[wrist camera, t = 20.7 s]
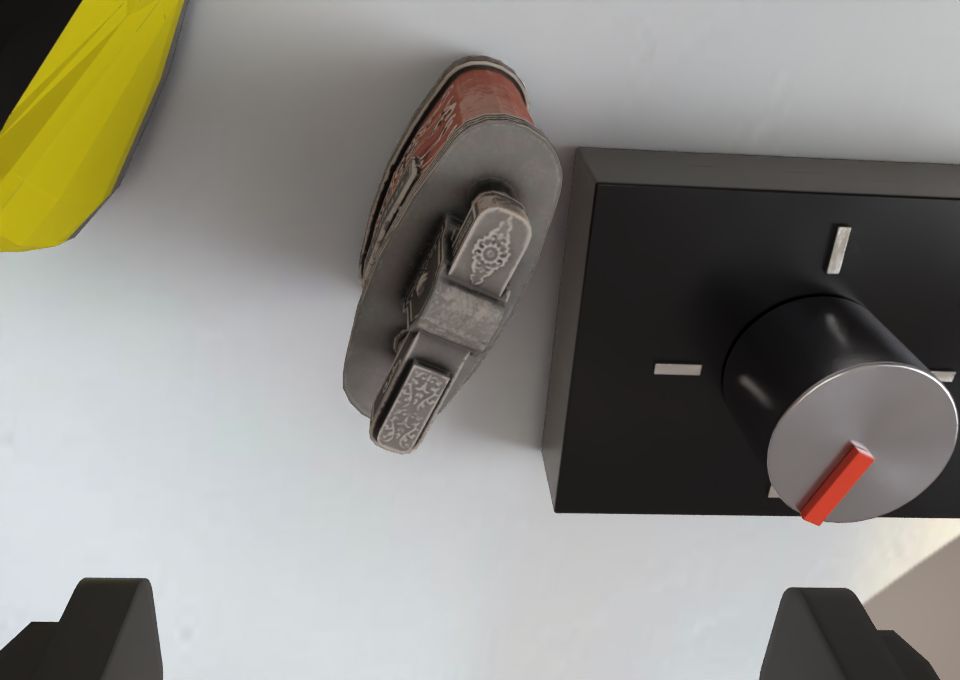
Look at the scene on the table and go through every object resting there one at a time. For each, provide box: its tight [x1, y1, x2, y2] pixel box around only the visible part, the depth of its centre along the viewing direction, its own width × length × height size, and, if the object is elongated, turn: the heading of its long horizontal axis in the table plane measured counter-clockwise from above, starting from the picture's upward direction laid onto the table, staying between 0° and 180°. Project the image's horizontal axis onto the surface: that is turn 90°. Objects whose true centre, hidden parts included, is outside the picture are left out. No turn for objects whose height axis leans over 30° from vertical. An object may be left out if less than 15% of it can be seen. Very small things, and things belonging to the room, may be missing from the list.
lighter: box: [343, 56, 563, 454], centre depth 23 cm, size 8×3×10 cm, turn 154°
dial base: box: [541, 147, 960, 518], centre depth 28 cm, size 14×11×4 cm
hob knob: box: [723, 296, 959, 526], centre depth 25 cm, size 5×5×4 cm
